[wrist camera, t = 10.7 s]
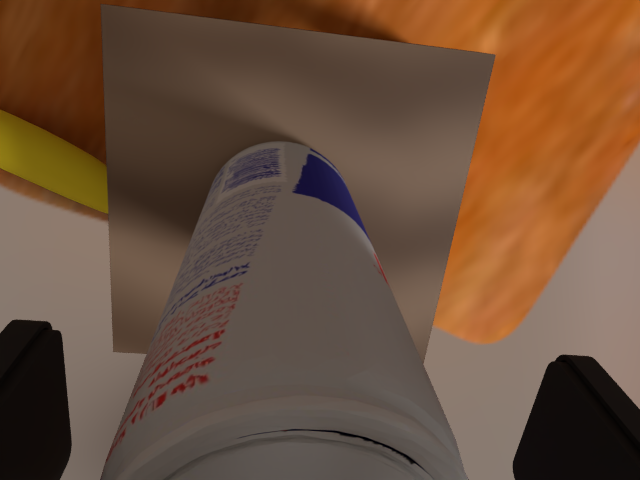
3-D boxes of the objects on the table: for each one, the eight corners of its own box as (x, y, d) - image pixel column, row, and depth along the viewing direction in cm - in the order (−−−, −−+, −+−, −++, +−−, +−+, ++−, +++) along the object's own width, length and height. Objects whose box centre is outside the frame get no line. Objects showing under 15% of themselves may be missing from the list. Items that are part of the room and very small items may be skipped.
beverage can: (214, 273, 22) (107, 715, 8) (202, 139, 19) (27, 428, 6) (347, 268, 22) (467, 681, 8) (350, 137, 20) (520, 401, 6)
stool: (161, 10, 27) (100, 4, 18) (424, 44, 28) (495, 54, 19) (160, 257, 32) (113, 351, 23) (382, 274, 34) (422, 368, 24)
